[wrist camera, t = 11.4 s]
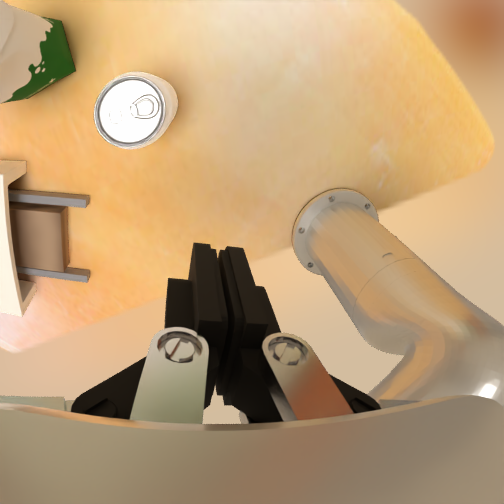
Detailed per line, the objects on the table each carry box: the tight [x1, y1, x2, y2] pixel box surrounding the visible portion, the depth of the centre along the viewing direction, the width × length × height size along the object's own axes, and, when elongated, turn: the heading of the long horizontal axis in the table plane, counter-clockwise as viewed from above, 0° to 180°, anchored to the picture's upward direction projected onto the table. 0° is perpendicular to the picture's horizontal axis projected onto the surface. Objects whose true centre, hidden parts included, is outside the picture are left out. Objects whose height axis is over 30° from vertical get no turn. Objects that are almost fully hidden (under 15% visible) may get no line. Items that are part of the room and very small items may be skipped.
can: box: [94, 72, 178, 149], centre depth 26 cm, size 6×6×12 cm
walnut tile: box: [9, 201, 70, 272], centre depth 34 cm, size 11×8×3 cm
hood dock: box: [0, 160, 90, 317], centre depth 33 cm, size 15×19×6 cm
